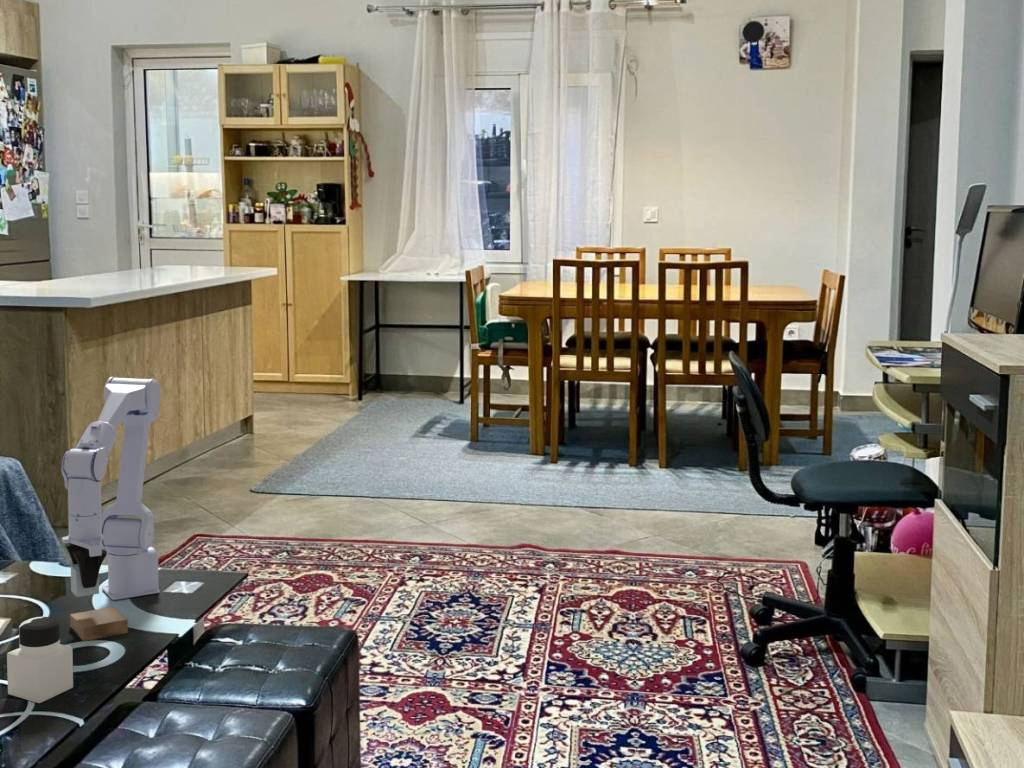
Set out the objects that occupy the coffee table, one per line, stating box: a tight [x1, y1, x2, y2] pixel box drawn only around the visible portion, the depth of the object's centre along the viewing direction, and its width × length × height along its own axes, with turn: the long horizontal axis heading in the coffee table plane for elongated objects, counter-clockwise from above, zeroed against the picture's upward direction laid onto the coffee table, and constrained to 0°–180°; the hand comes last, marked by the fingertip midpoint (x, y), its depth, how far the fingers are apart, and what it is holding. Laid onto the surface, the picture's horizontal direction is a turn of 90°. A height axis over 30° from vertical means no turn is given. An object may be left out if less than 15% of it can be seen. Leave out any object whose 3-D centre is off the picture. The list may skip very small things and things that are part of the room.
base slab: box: [69, 606, 129, 642], centre depth 207 cm, size 8×8×3 cm
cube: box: [70, 564, 100, 598], centre depth 207 cm, size 4×4×5 cm
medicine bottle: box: [6, 616, 74, 704], centre depth 180 cm, size 7×7×12 cm
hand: (86, 583), depth 207 cm, fingers closed on cube, 4 cm apart
